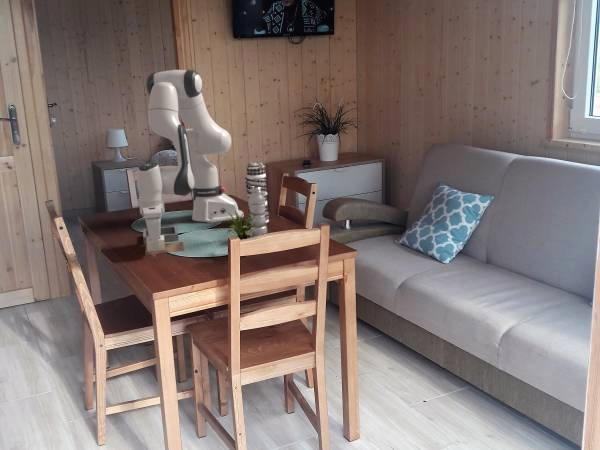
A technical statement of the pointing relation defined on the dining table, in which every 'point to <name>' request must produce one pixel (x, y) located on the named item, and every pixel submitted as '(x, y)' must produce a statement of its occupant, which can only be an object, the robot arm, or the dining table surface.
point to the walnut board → (168, 248)
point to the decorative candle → (257, 183)
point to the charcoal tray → (168, 233)
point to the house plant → (238, 226)
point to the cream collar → (160, 243)
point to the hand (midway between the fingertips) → (155, 244)
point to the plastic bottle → (257, 211)
